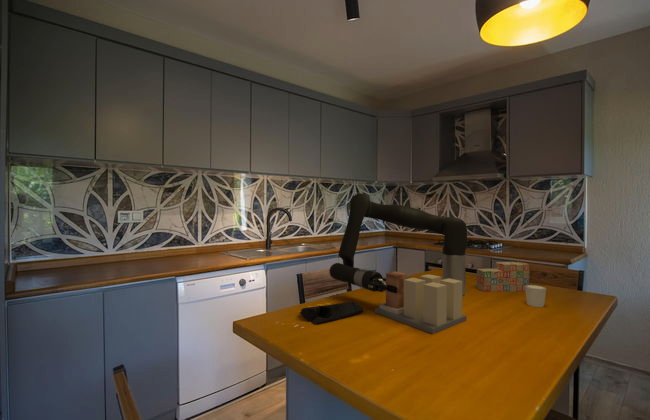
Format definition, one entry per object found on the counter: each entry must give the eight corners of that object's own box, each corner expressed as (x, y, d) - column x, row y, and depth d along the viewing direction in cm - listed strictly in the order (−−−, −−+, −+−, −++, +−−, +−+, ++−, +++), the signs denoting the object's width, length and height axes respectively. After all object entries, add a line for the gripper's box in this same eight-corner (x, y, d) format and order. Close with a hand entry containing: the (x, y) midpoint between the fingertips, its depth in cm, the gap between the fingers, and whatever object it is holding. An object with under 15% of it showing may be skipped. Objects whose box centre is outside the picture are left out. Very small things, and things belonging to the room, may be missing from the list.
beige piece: (527, 306, 123) (527, 288, 123) (523, 301, 130) (523, 284, 130) (548, 308, 121) (548, 289, 121) (543, 303, 127) (543, 285, 127)
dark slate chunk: (369, 317, 113) (369, 303, 113) (312, 327, 104) (312, 312, 104) (348, 304, 127) (348, 292, 127) (295, 313, 118) (295, 300, 117)
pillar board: (409, 302, 128) (409, 269, 127) (466, 320, 108) (466, 280, 108) (375, 312, 116) (375, 275, 116) (432, 334, 97) (432, 289, 97)
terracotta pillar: (395, 303, 119) (395, 271, 119) (406, 307, 115) (406, 273, 115) (385, 306, 116) (386, 273, 116) (396, 310, 112) (396, 275, 112)
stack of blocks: (483, 292, 144) (483, 264, 144) (476, 288, 150) (476, 262, 150) (529, 291, 145) (529, 264, 145) (520, 287, 151) (520, 261, 151)
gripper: (354, 272, 122) (388, 281, 109) (380, 268, 131) (415, 275, 117) (354, 292, 123) (388, 303, 109) (380, 286, 131) (414, 296, 118)
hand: (401, 288), depth 113 cm, fingers closed on terracotta pillar, 5 cm apart
